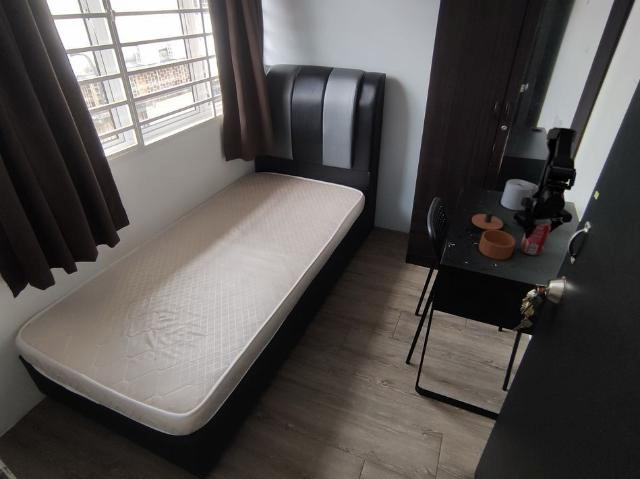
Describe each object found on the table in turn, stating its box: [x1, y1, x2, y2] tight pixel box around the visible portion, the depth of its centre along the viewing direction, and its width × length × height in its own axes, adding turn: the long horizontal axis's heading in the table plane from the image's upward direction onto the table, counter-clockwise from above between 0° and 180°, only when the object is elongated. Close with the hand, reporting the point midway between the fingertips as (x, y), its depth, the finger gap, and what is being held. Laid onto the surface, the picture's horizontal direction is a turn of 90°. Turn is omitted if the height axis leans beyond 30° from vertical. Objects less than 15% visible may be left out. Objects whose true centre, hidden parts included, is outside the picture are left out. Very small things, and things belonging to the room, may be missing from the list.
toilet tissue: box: [500, 178, 538, 211], centre depth 169 cm, size 11×12×10 cm
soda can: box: [520, 219, 551, 256], centre depth 137 cm, size 7×7×13 cm
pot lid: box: [471, 211, 504, 231], centre depth 156 cm, size 12×12×5 cm
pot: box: [478, 229, 517, 261], centre depth 140 cm, size 11×11×6 cm
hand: (534, 237), depth 138 cm, fingers closed on soda can, 6 cm apart
